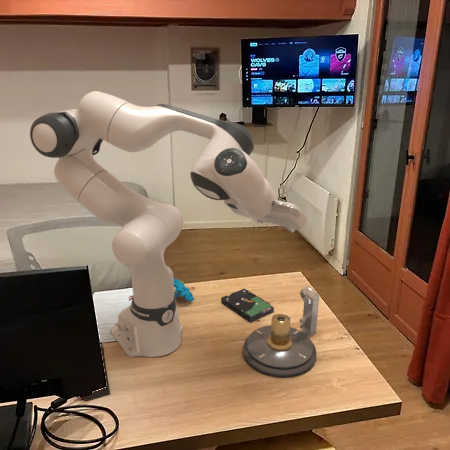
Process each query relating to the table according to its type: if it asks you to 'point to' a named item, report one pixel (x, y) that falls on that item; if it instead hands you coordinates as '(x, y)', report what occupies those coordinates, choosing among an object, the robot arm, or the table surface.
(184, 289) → the gear
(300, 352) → the turntable platter
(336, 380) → the table surface
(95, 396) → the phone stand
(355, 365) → the table surface
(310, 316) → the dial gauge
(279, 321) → the brass hub
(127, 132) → the robot arm
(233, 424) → the table surface
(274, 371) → the turntable base
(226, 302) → the disk drive
